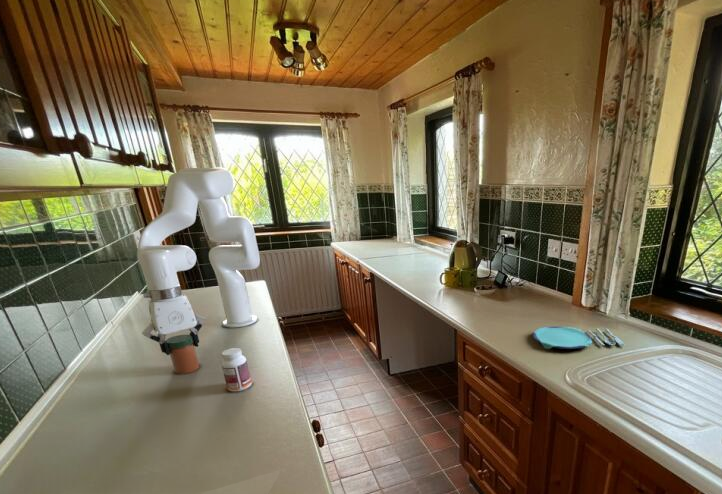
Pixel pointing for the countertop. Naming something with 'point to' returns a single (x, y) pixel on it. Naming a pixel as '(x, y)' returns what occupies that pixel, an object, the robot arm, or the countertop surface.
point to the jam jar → (184, 359)
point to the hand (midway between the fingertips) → (181, 349)
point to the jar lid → (179, 341)
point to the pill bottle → (235, 370)
